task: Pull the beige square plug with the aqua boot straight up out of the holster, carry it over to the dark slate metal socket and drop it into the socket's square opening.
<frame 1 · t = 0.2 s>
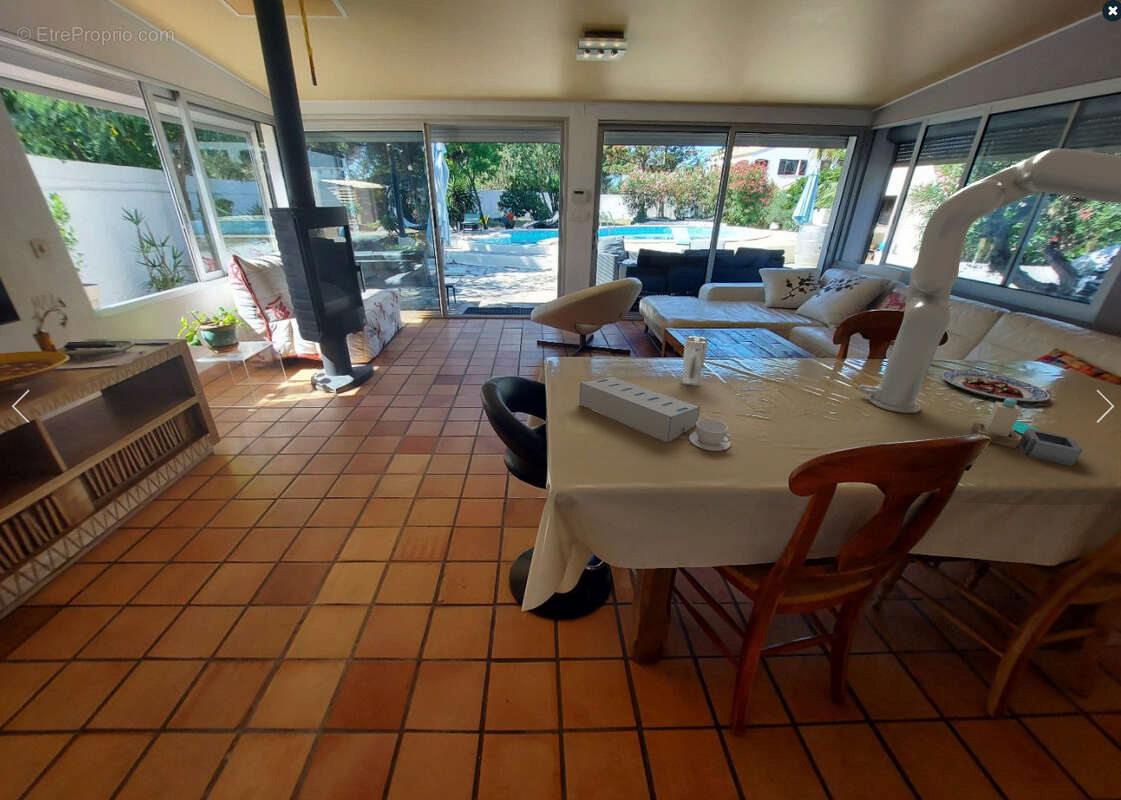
socket: (1044, 453, 102), on the table
holster: (992, 437, 109), on the table
teacup: (709, 442, 105), on the table
slotted grey box: (635, 416, 119), on the table
ceramic plate: (989, 390, 139), on the table
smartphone: (1029, 435, 111), on the table
beer glass: (690, 383, 140), on the table
plug: (1001, 419, 107), in the holster
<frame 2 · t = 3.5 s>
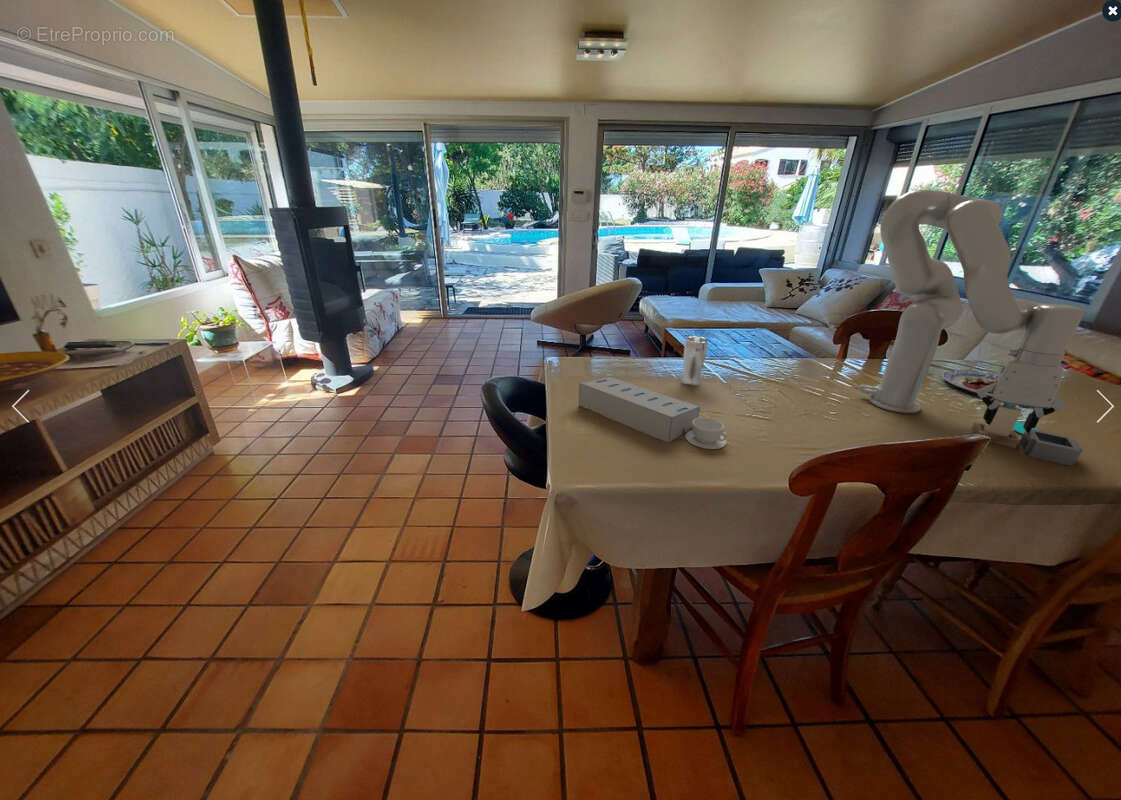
hand: (1006, 425, 106), 4 cm above the table, tool pointing down, fingers open, 6 cm apart
teacup: (705, 441, 106), on the table
plug: (1002, 419, 107), in the holster, touching gripper
everything else where it was.
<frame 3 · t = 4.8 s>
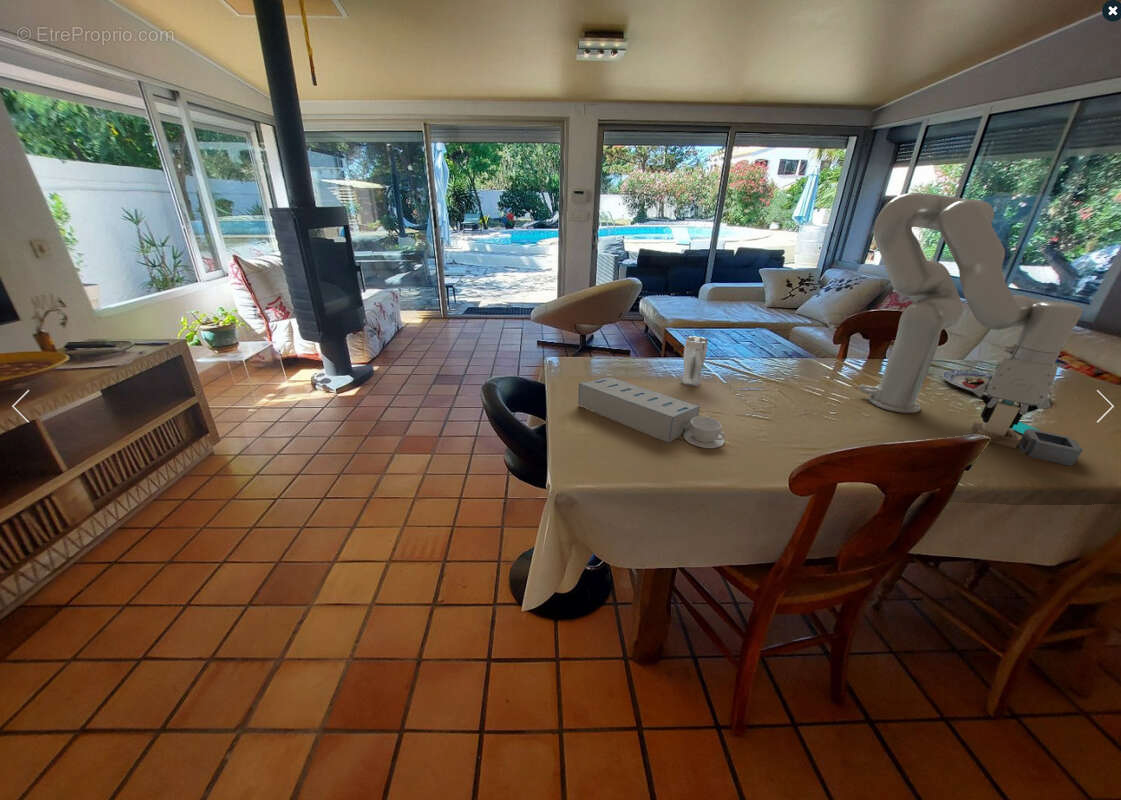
hand: (997, 422, 107), 4 cm above the table, tool pointing down, fingers closed on plug, 4 cm apart
plug: (1000, 416, 107), in the holster, point 6 cm above the table, touching gripper
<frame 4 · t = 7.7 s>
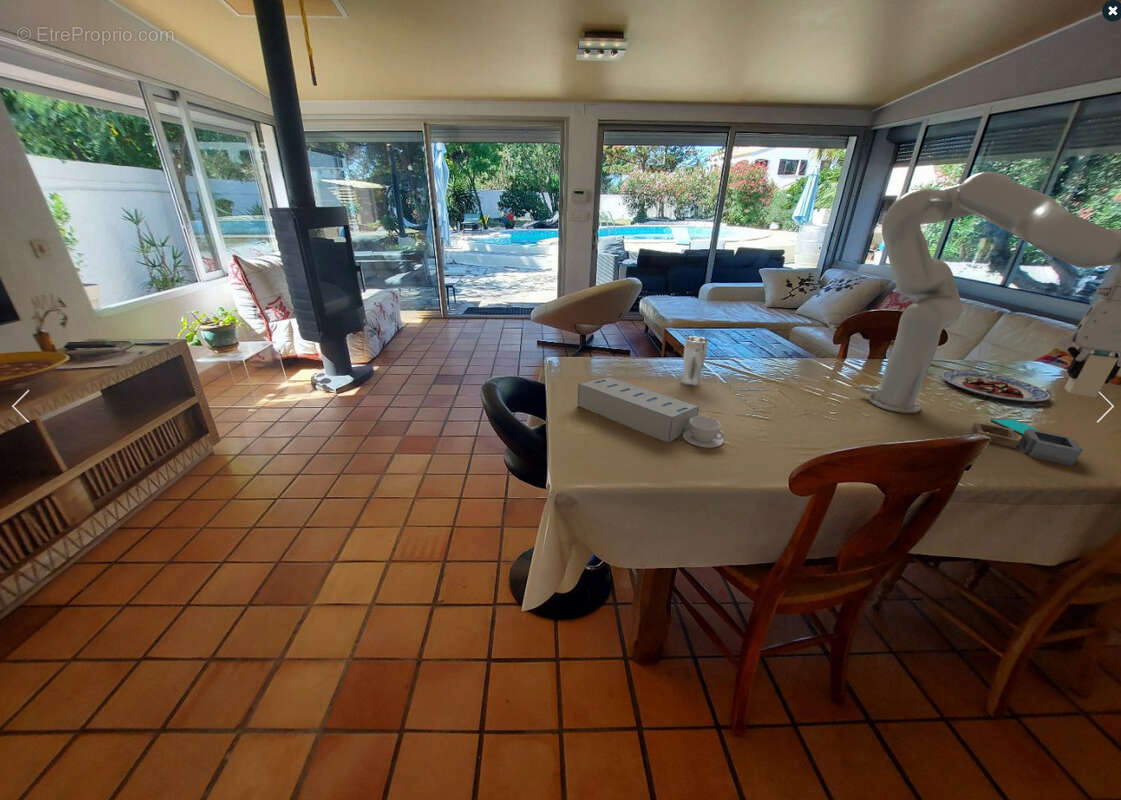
hand: (1087, 378, 94), 20 cm above the table, tool pointing down, fingers closed on plug, 4 cm apart
plug: (1091, 370, 93), point 21 cm above the table, touching gripper
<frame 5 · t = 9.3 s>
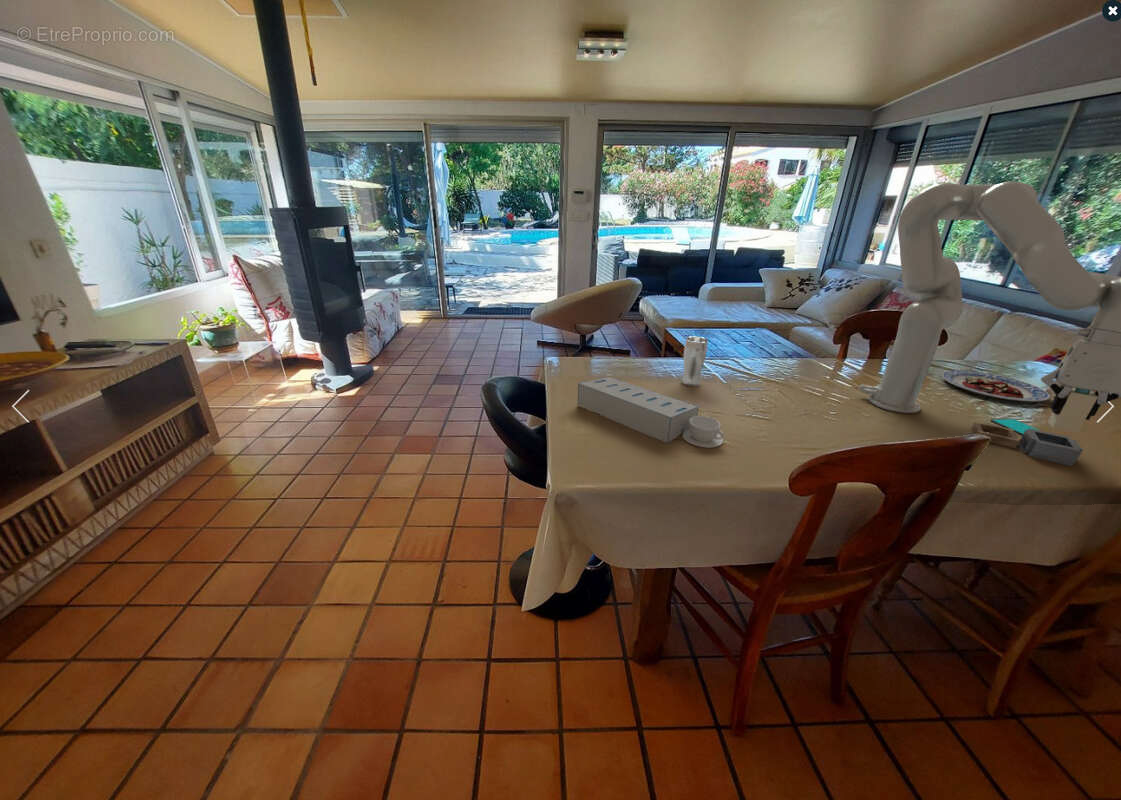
hand: (1069, 414, 97), 11 cm above the table, tool pointing down, fingers closed on plug, 4 cm apart
plug: (1073, 406, 96), point 13 cm above the table, touching gripper
everything else where it was.
when the fingers open (5 cm above the table, at t = 10.7 s): plug drops 2 cm, resting in socket.
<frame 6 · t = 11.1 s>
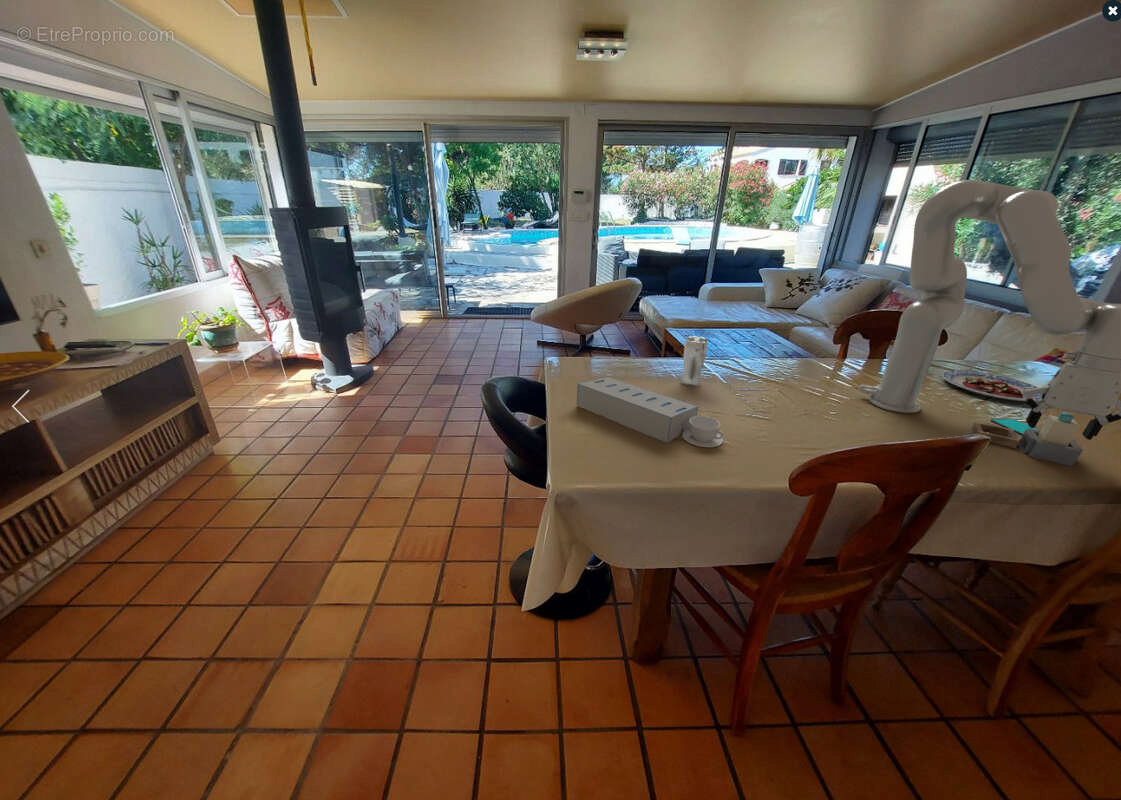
hand: (1057, 431, 99), 6 cm above the table, tool pointing down, fingers open, 8 cm apart
plug: (1056, 434, 100), in the socket
everything else where it was.
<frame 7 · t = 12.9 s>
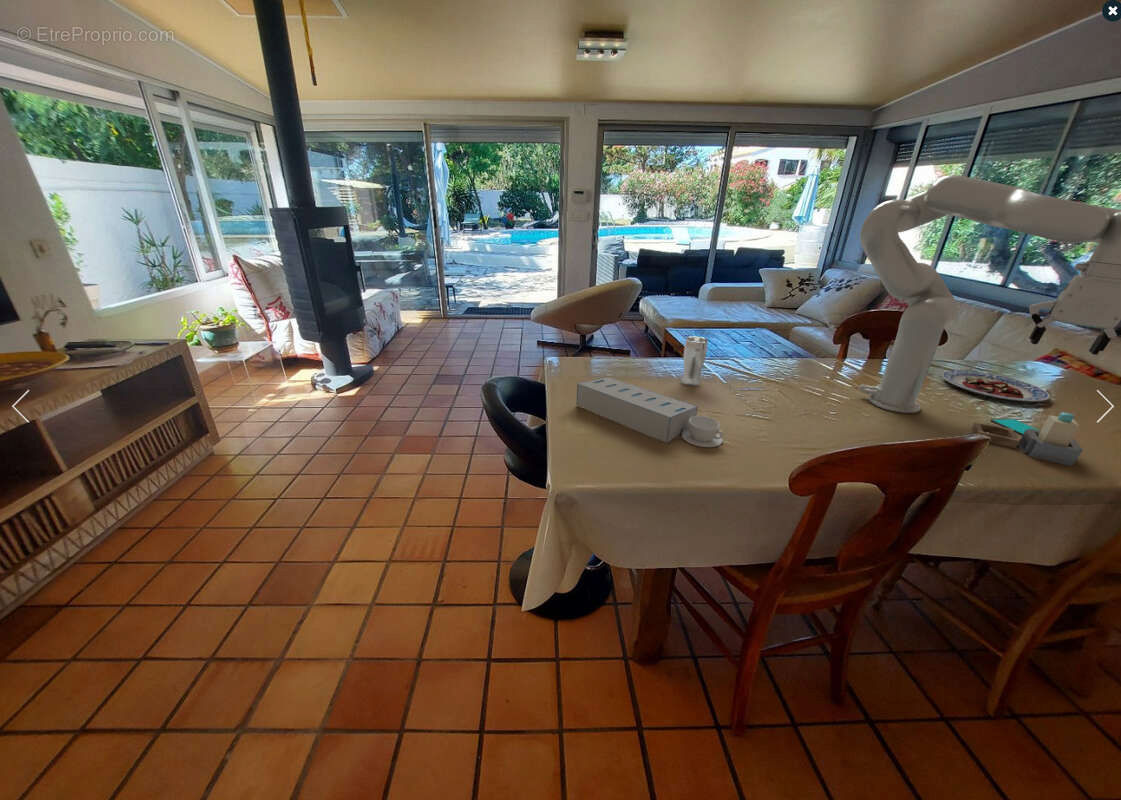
hand: (1062, 347, 98), 25 cm above the table, tool pointing down, fingers open, 9 cm apart
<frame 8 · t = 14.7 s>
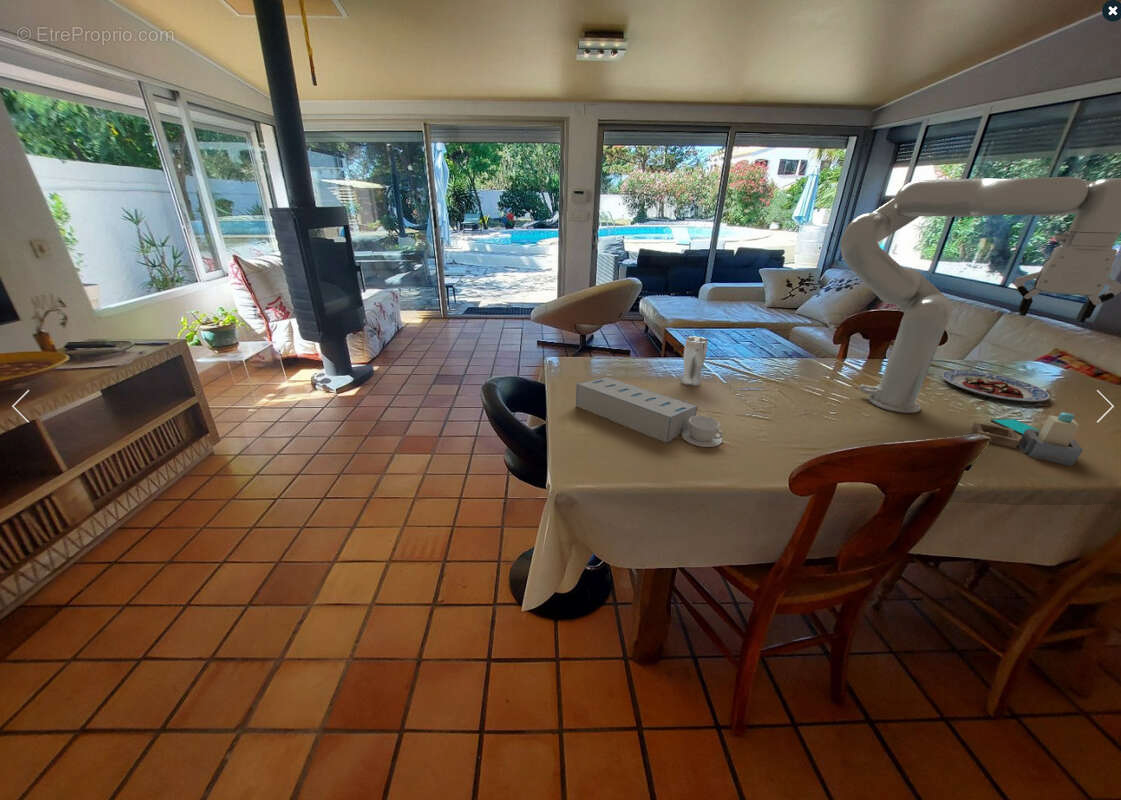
hand: (1050, 317, 100), 30 cm above the table, tool pointing down, fingers open, 9 cm apart
at the end: plug 0.2 cm off-centre on the socket, point 5.3 cm above the socket's base; plug tilted 0°; the gripper is holding nothing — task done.
